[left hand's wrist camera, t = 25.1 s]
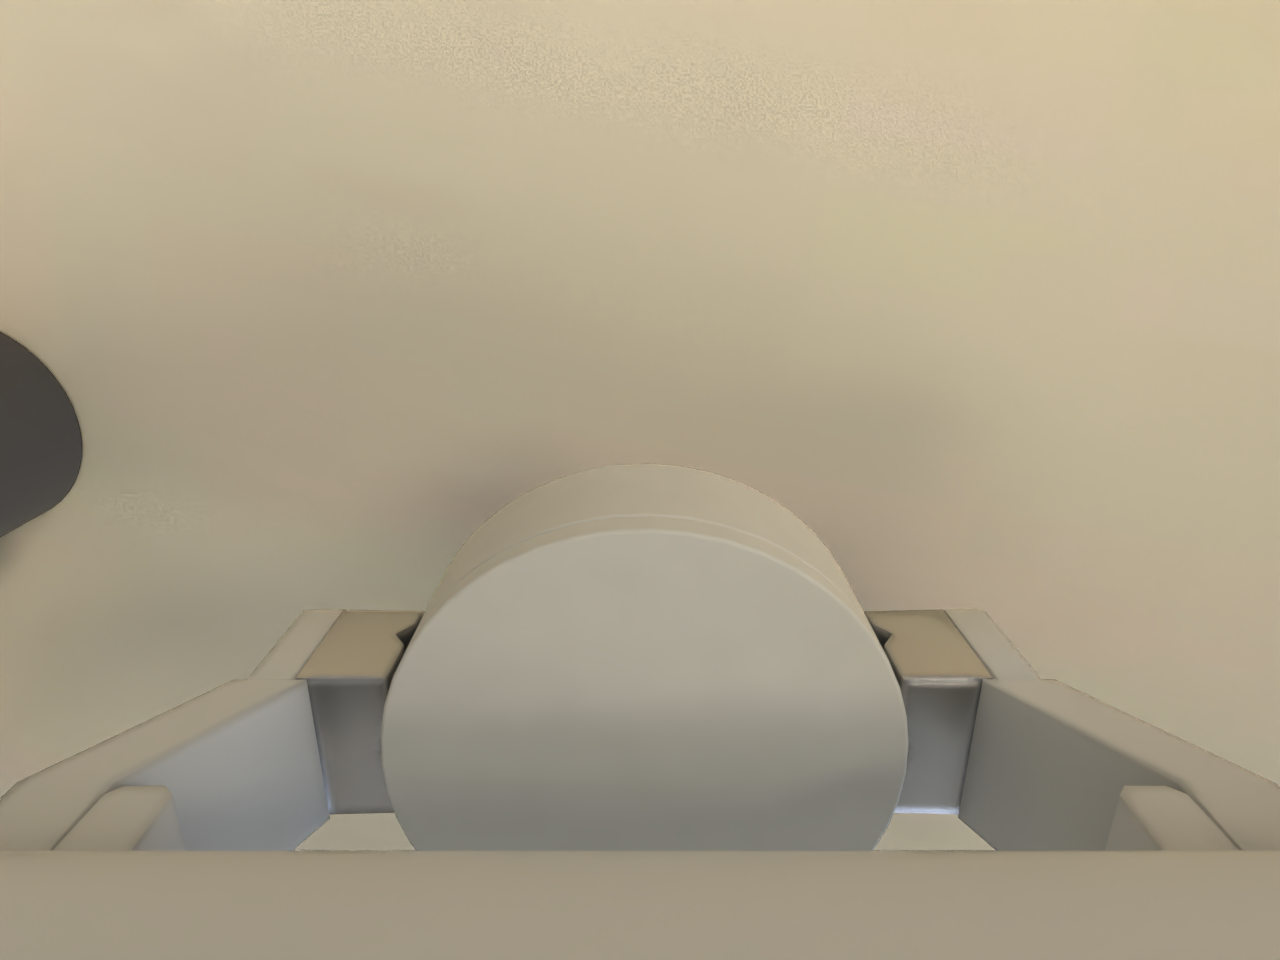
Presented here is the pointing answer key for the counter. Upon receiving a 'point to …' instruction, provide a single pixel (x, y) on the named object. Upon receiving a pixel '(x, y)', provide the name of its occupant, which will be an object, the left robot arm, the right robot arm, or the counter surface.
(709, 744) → the lid
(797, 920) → the left robot arm
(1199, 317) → the counter surface
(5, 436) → the dark gray cylinder
